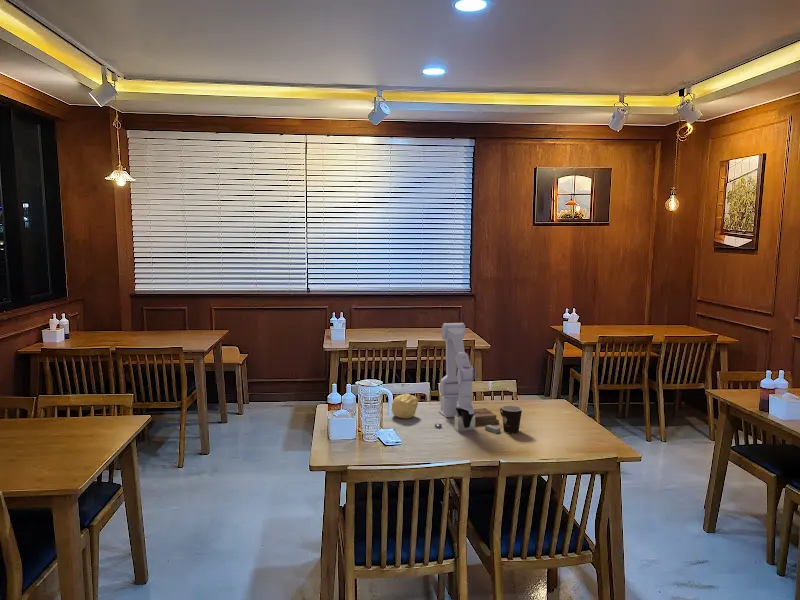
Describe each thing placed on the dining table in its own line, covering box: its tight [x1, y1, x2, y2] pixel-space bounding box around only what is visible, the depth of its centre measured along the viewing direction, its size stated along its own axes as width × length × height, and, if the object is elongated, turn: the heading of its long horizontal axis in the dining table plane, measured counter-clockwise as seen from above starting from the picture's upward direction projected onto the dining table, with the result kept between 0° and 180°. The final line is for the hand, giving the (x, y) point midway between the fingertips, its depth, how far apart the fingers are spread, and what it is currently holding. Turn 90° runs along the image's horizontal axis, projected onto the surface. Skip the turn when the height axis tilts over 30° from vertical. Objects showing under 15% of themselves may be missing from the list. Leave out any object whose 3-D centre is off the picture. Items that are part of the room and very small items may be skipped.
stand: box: [473, 407, 500, 427], centre depth 256 cm, size 14×12×4 cm
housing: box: [453, 415, 476, 433], centre depth 243 cm, size 4×8×6 cm, turn 107°
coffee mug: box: [499, 405, 523, 434], centre depth 243 cm, size 12×9×10 cm
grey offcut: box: [484, 424, 501, 434], centre depth 242 cm, size 6×3×2 cm, turn 41°
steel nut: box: [434, 423, 443, 429], centre depth 246 cm, size 3×3×1 cm
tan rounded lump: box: [391, 392, 419, 420], centre depth 260 cm, size 12×12×11 cm
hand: (464, 425), depth 243 cm, fingers closed on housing, 4 cm apart
